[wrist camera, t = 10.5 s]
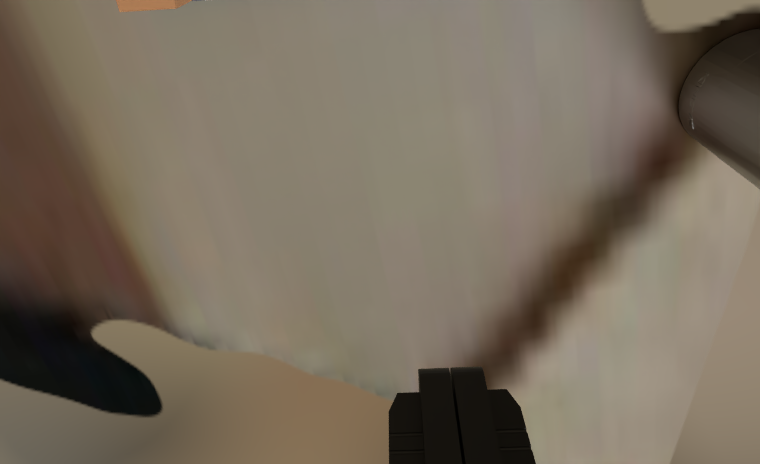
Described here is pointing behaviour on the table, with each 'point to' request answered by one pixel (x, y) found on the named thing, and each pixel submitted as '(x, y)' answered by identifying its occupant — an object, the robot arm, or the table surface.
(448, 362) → the table surface
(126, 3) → the collar
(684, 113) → the robot arm
